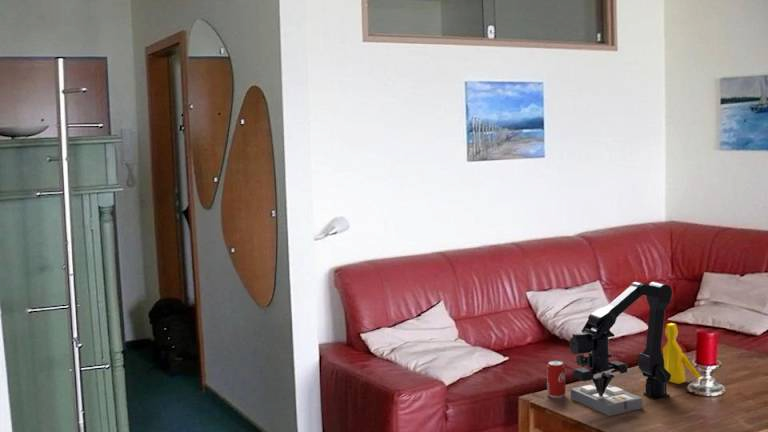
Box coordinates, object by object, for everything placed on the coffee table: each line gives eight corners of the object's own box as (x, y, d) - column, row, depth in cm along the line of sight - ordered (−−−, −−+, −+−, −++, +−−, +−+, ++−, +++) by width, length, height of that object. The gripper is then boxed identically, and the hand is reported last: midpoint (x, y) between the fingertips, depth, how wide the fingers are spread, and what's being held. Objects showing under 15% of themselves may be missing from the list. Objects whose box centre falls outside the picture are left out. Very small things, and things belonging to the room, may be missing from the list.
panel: (603, 391, 295) (602, 381, 295) (642, 408, 277) (642, 397, 277) (570, 398, 289) (570, 387, 289) (608, 416, 271) (608, 404, 271)
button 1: (590, 391, 289) (590, 384, 289) (597, 395, 285) (597, 388, 285) (580, 393, 287) (580, 386, 287) (588, 397, 284) (588, 390, 283)
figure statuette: (703, 384, 298) (703, 324, 295) (691, 389, 293) (691, 328, 290) (659, 374, 312) (658, 316, 309) (647, 379, 307) (646, 320, 304)
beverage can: (565, 399, 289) (564, 365, 288) (547, 398, 291) (546, 365, 289) (565, 393, 295) (564, 360, 294) (547, 392, 297) (546, 360, 295)
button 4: (615, 393, 286) (615, 386, 286) (623, 396, 282) (623, 389, 282) (606, 395, 284) (606, 388, 284) (613, 399, 281) (613, 391, 280)
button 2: (601, 399, 284) (601, 392, 283) (609, 403, 280) (609, 396, 280) (592, 401, 282) (592, 394, 282) (599, 405, 278) (599, 398, 278)
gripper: (606, 340, 290) (607, 384, 292) (562, 349, 282) (563, 393, 284) (628, 348, 280) (628, 393, 282) (583, 357, 272) (584, 403, 274)
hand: (600, 395), depth 281 cm, fingers closed, pressing on button 2
